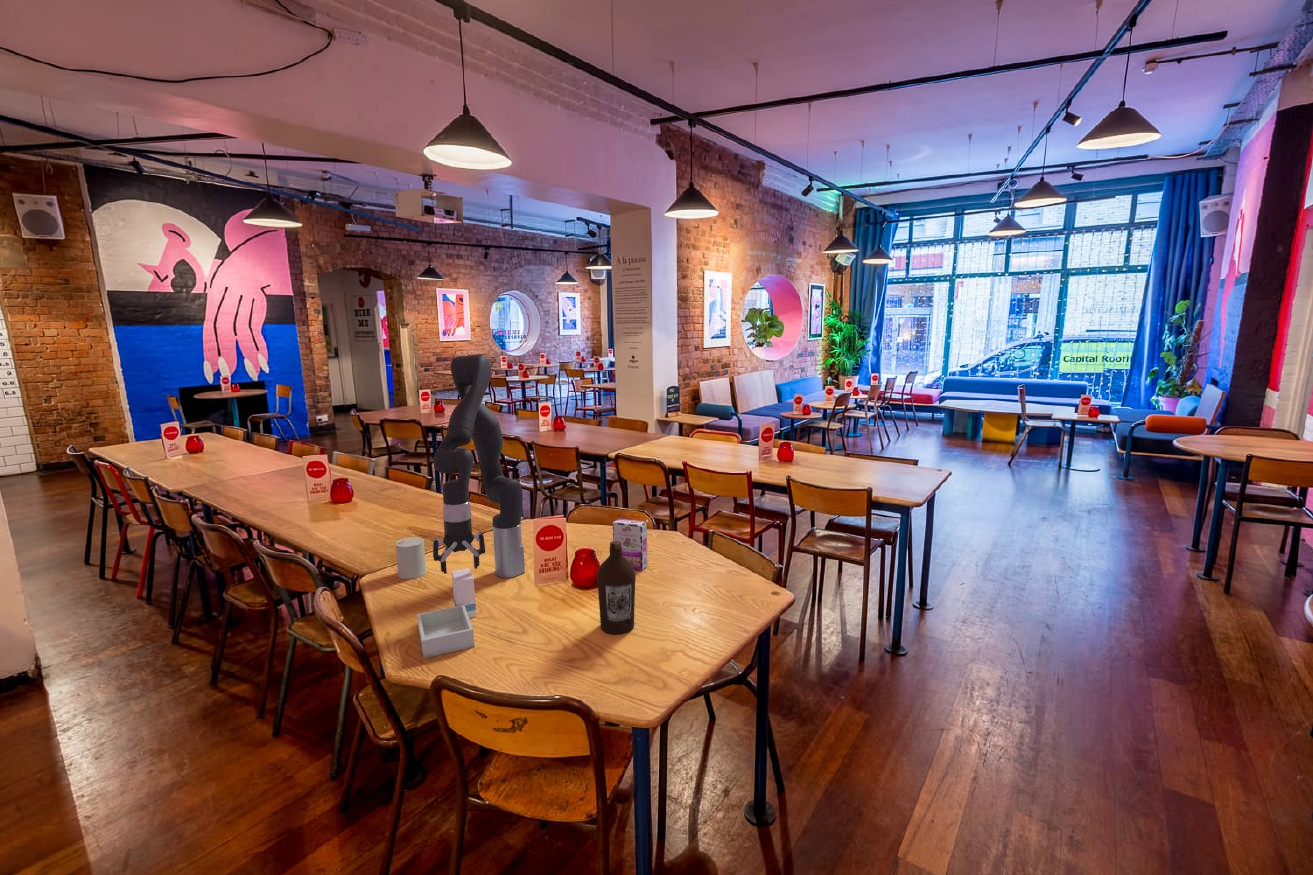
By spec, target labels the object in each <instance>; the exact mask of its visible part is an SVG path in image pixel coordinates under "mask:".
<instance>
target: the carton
mask: <svg viewBox="0 0 1313 875" xmlns="http://www.w3.org/2000/svg"><path fill="white" fill-rule="evenodd" d="M451 578H452V579H451V580H452V591H453V603H454V604H453V605H454V606H453V607H455V606H460V605H465V608H466V611H467V614H468V616H469V619H471V618H476V617H477V605H476V604H477V603H476V592H475V591H476V590H475V582H474V580H475V579H474V575H473V574H472V571H471V570H470V568H468V567H467V568H462V569H457V570H451Z"/></svg>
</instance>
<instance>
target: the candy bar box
mask: <svg viewBox="0 0 1313 875" xmlns="http://www.w3.org/2000/svg"><path fill="white" fill-rule="evenodd" d="M612 541H620V542H621V546H622V555H623V557H625V558H626V559H627V560H628V561H629V562H630V563H631V564H632V566H633V567H634V570H635V571H641V572H643V571H644V570H645V569H646V568H647V567H648V565H649V564H648V523H647V521H643V520H634V519H626V518H617V519H616V520H615V521H612Z"/></svg>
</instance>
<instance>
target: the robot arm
mask: <svg viewBox="0 0 1313 875" xmlns="http://www.w3.org/2000/svg"><path fill="white" fill-rule="evenodd" d="M450 374H451V378H452V380H453V383H454V386H455V388H456V391H457V394H458V396H459V399H460V401H459V402H458V404H456V405H455V407H454V409H453V410H452V412H451V414H450V417H449V421H448V425H447V429H446V433H445V436H444V438H442V440H441V443H440V445H438V447H437V449H436V452H435V453H434V457H433V466H434V469H435V470H436V472H438V473H441V474H458V478H456V479H453V480H448V481H447V480H446V481H445V482H444V483H443V484H442V500H443V503H442V504H443V506H442V514H443V515H442V516H443V518H442V519H443V530H444V531H443V532H444V536H443V538H436V537H435V538H433V539H432V558H433V561H434V562H436V561H437V562H438V561H439V562H440V571H441V573H443V574H444V575H446V574H447V573H448V572H447V571H448V570H447V561H446V560H447V558H448V557H450V555H451V553H452V552H453V553H458V552H465V551H466V550H468V551H469V552H470V553H472V555H473V558H472V559H473V569H475V570H477V569H478V567H480V555H484V554H486V545H485V538H484V537H485V536H484V533H483V532H482V531H479V532H477V533H475V534H473V526H472V524H473V523H472V509H471V504H470V492H469V490H470V489H469V487H470V479H471V474H472V470H473V467H474V461H475V460H474V458H475V457H474V454H473V453H472V451H471V450H470V449H469V448H460V447H464V446H468V445H469V444H470V443H471V441H473V445H474V448H475V450H476V451H475V452H476V456H477V458H478V462H479V466H480V471H481V474H482V479H483V480H482V481H483V489H484V493H485V495H486V497H487V500H489V501H490V502H491V503H493V504H495V505H499V513H498V514H495V515H494V516H493V517H492V520H491V522H492V534H493V535H492V536H493V550H494V564H495V565H494V566H495V567H494V569H495V575H496V576H497V577H499V576H500V577H499V578H514V577H517V576H520V575H522V574H526V567H525V547H524V545H523V541H522V539H523V538H522V522H521V521H522V517H523V509H524V508H523V507H524V506H523V505H524V502H523V501H524V498H523V497H524V496H523V488H522V485H521V483H520V482H519V481H518V480H517V479H513V478H509V477H505V475H504V472H503V469H502V466H501V454H502V450H503V447H504V446H503V444H504V437H503V433H502V430H501V429H502V428H501V425H500V421H499V420H498V418H497V417H496V415H495V414H494V413H493V412H492V410H490V409H489V408H488V407H487V406H486V405H485V404H484V403H483V399H484V396H485V394H486V391H487V388H488V386H489V383H490V381H491V376H492V364H491V362H490V360H489V358H488V356H486V355H485V354H468V355H459V356H455V357H453V358H452V359H451V362H450ZM474 540H476V541H477V542H478V546H479V548H478V549H476V547H475V546H474V545H473V544H472V543H473V542H474ZM443 544H444V545H445V547H444V549H443V551H442V553H441V554H439V548H440V547H441V546H442V545H443Z"/></svg>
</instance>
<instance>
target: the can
mask: <svg viewBox="0 0 1313 875" xmlns="http://www.w3.org/2000/svg"><path fill="white" fill-rule="evenodd" d="M394 543H395V544H394V545H395V554H396V565H397V577H398V578H399V579H401V580H414V579H418V578H421V577H423V576H425V575H426V574H427V572H428V570H427V564H426V553H425V552H426V551H425V550H426V549H425V539H424V538H423V537H420V536H412V537H411V536H409V537H405V538H401V539H399V540H397V541H396V542H394Z"/></svg>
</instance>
